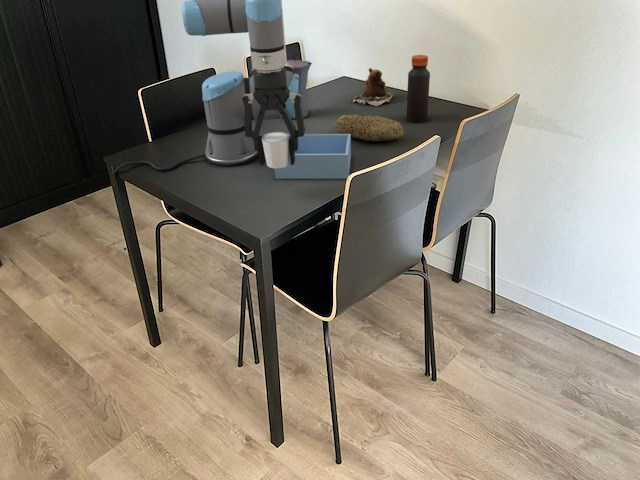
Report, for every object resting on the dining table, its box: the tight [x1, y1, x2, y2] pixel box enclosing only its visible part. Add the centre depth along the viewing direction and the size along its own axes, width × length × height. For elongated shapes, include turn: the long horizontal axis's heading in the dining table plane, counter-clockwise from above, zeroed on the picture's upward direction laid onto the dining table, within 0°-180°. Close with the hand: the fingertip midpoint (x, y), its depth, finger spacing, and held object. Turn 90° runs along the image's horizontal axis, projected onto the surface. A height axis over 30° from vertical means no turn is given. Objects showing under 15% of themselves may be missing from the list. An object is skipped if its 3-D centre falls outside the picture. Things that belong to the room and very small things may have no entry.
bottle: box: [405, 54, 431, 123], centre depth 176 cm, size 7×7×20 cm
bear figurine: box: [352, 67, 394, 107], centre depth 197 cm, size 14×15×12 cm
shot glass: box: [261, 131, 290, 169], centre depth 134 cm, size 7×7×7 cm
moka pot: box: [287, 54, 313, 119], centre depth 184 cm, size 10×15×20 cm, turn 124°
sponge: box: [334, 113, 405, 142], centre depth 167 cm, size 13×8×20 cm
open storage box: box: [273, 133, 352, 180], centre depth 151 cm, size 20×15×7 cm
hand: (277, 162), depth 136 cm, fingers closed on shot glass, 7 cm apart
